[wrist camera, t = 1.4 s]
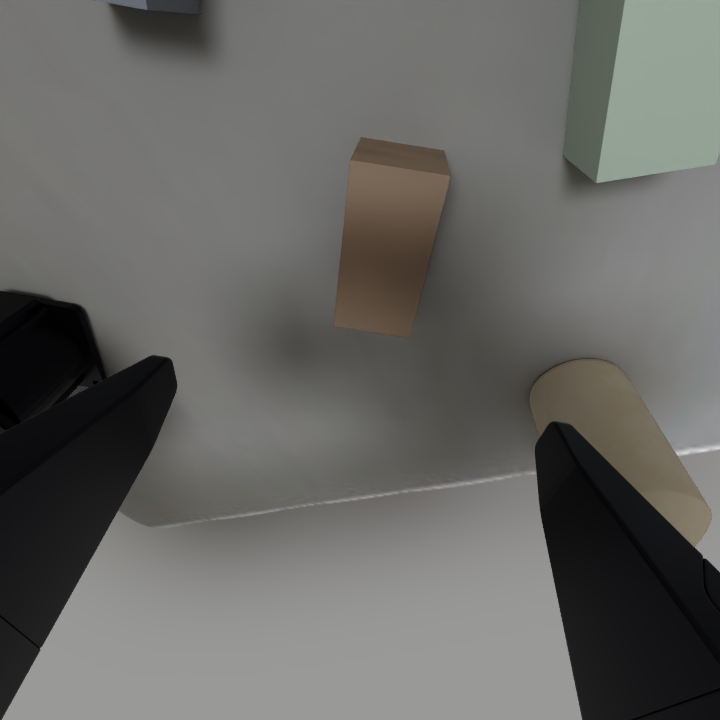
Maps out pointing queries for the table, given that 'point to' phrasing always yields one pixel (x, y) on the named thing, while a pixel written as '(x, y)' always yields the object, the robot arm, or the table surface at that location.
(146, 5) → the charcoal block
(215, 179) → the table surface
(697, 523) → the candle
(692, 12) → the sage block
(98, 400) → the robot arm
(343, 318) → the walnut block
